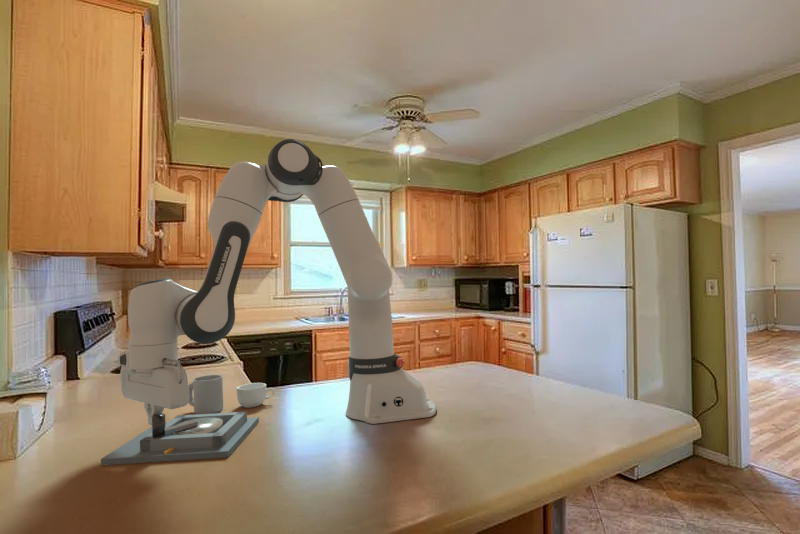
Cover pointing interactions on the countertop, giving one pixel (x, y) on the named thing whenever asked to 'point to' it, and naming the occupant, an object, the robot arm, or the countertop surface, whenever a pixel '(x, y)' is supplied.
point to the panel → (175, 455)
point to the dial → (185, 426)
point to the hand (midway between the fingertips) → (154, 424)
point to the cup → (206, 394)
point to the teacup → (252, 394)
